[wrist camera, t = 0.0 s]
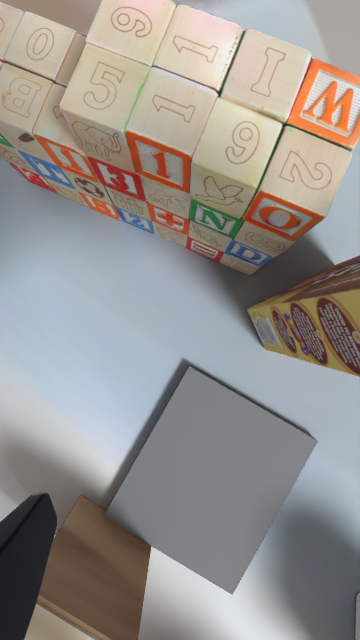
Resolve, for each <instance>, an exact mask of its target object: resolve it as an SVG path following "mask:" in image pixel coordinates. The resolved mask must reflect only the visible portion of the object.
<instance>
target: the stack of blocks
mask: <svg viewBox="0 0 360 640" xmlns="http://www.w3.org/2000/svg"><path fill="white" fill-rule="evenodd" d="M359 137H360V76H358V75H355V74H353V73H350V72H347V71H345V70H343V69H341V68H339V67H337V66H334V65H331V64H328V63H326V62H323V61H321V60H318V59H312V57H311V52H310V51H309V50H306V49H304V48H301V47H298V46H296V45H294V44H291V43H288V42H286V41H283V40H280V39H278V38H275V37H273V36H270V35H267V34H265V33H262V32H259V31H256V30H254V29H250V28H248V29H246V30H245V31H243V29H242V27H241V26H240V25H239V24H236V23H233V22H231V21H228V20H225V19H222V18H219V17H217V16H214V15H212V14H210V13H206V12H203V11H200V10H198V9H195V8H193V7H190V6H188V5H184V4H181V5H178V6H177V5H176V4H175V3H174V2H173V1H171V0H102V2H101V5H100V7H99V9H98V11H97V14H96V16H95V19H94V21H93V23H92V26H91V28H90V30H89V33H88V35H87V36H85V35H82V34H79V33H77V31H76V30H74V29H71V28H69V27H66V26H63V25H61V24H59V23H56V22H54V21H51V20H49V19H46V18H44V17H41V16H39V15H36V14H34V13H31V12H23V11H21V10H20V9H17V8H15V7H13V6H10V5H8V4H4V3H2V2H0V156H1V157H3V158H4V159H5V160H6V161H8V162H9V163H10V164H11V165H12V166H13V167H14V168H15V169H16V170H17V171H18V172H19V173H20V174H21V175H22V176H23V177H25V178H26V179H27V180H28V181H29V182H31V183H34V184H37V185H39V186H42V187H44V188H46V189H49V190H51V191H54V192H56V193H59V194H60V195H61V196H63V197H66V198H68V199H70V200H73V201H75V202H77V203H80V204H82V205H85V206H87V207H91V208H92V209H94V210H96V211H98V212H101V213H103V214H106V215H108V216H110V217H113V218H115V219H117V220H120V221H125V222H127V223H129V224H131V225H134V226H136V227H139V228H141V229H143V230H146V231H148V232H150V233H153V234H156V235H158V236H160V237H163V238H165V239H168V240H170V241H172V242H175V243H177V244H179V245H182V246H184V247H186V248H187V249H189V250H192V251H194V252H196V253H199V254H201V255H203V256H206V257H208V258H210V259H213V260H215V261H217V262H220V263H221V264H224V265H226V266H228V267H231V268H233V269H235V270H238V271H240V272H242V273H245V274H247V275H252V274H253V273H254V272H256V271H257V270H259V269H260V268H261V267H262V266H263V265H265V264H266V263H267V262H269V261H270V260H272V259H273V258H275V257H277V256H279V255H280V254H282V253H283V252H284V251H286V250H287V249H288V248H290V247H291V246H292V245H294V244H295V243H296V242H297V240H298V238H299V237H300V236H302V235H303V234H304V233H306V232H307V231H309V230H310V229H311V228H313V227H314V226H315V225H317V224H318V223H319V222H321V221H322V220H323V219H324V218H325V217H326V216H327V214H328V212H329V209H330V207H331V204H332V202H333V199H334V197H335V195H336V192H337V190H338V188H339V185H340V183H341V181H342V178H343V176H344V173H345V171H346V169H347V167H348V164H349V162H350V160H351V157H352V152H351V151H352V150H353V149H354V147H355V145H356V143H357V141H358V139H359Z"/></svg>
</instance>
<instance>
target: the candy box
mask: <svg viewBox="0 0 360 640" xmlns="http://www.w3.org/2000/svg"><path fill="white" fill-rule="evenodd" d="M247 311H248V313H249V315H250V317H251V319H252V321H253V323H254V326H255V328H256V330H257V332H258V335H259V337H260V339H261V341H262V343H263V345H264V347H265V349H266V350H269V351H273V352H277V353H280V354H283V355H287V356H290V357H294V358H297V359H301V360H304V361H307V362H310V363H314V364H317V365H321V366H325V367H328V368H331V369H335V370H338V371H342V372H346V373H349V374H353V375H356V376H360V256H357V257H355V258H352V259H349V260H347V261H344V262H342V263H339V264H337V265H335V266H332V267H330V268H328V269H326V270H324V271H322V272H320V273H318V274H316V275H314V276H312V277H310V278H308V279H306V280H304V281H302V282H300V283H298V284H296V285H294V286H292V287H290V288H289V289H287V290H285V291H283V292H281V293H279V294H277V295H275V296H272V297H270V298H268V299H266V300H264V301H262V302H260V303H258V304H256V305H254V306H252V307H250V308H248V309H247Z"/></svg>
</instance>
